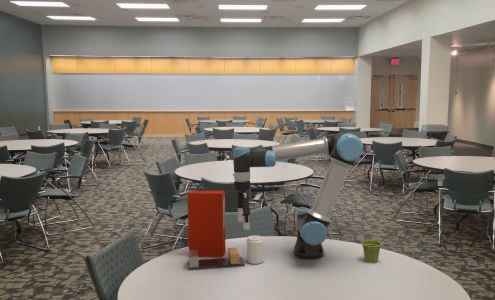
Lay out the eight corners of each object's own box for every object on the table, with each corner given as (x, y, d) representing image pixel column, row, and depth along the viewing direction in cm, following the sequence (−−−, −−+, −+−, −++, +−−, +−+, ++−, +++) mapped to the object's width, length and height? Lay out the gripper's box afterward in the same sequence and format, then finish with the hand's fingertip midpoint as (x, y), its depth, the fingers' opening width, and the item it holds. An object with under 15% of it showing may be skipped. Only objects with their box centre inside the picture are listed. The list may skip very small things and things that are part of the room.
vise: (241, 259, 228) (241, 246, 227) (244, 266, 218) (244, 253, 217) (187, 262, 224) (187, 250, 223) (188, 270, 214) (188, 257, 213)
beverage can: (251, 266, 219) (251, 241, 217) (244, 260, 226) (243, 236, 224) (266, 263, 222) (266, 238, 221) (258, 257, 229) (258, 234, 228)
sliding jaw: (236, 256, 227) (236, 247, 227) (239, 263, 217) (239, 254, 217) (228, 257, 227) (228, 247, 226) (230, 264, 217) (230, 254, 216)
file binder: (192, 251, 240) (191, 190, 236) (225, 252, 238) (224, 190, 235) (188, 256, 232) (187, 193, 228) (223, 257, 230) (222, 193, 227)
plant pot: (380, 265, 218) (381, 247, 217) (360, 262, 222) (360, 245, 221) (381, 258, 227) (382, 241, 226) (362, 256, 230) (362, 239, 229)
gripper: (229, 176, 227) (231, 219, 230) (239, 185, 203) (240, 233, 205) (245, 175, 229) (246, 217, 231) (255, 184, 204) (257, 231, 207)
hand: (243, 225), depth 218 cm, fingers open, 13 cm apart
